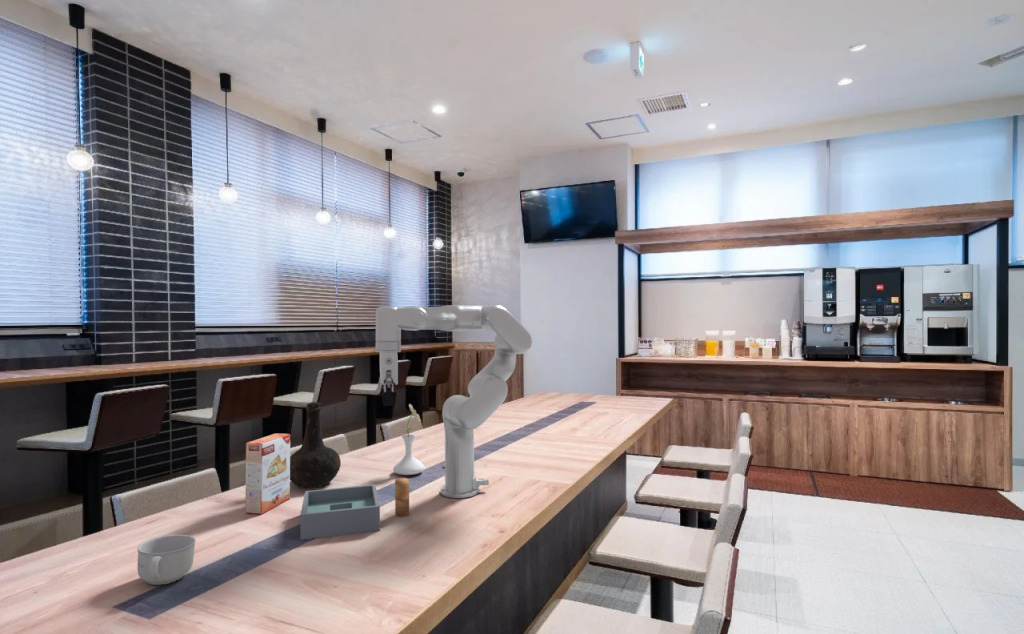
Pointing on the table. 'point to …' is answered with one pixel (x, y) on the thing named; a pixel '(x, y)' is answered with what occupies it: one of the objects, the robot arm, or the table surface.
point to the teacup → (165, 558)
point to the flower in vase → (409, 453)
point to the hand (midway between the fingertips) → (387, 403)
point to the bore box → (339, 512)
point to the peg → (401, 497)
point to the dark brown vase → (313, 455)
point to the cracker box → (267, 473)
